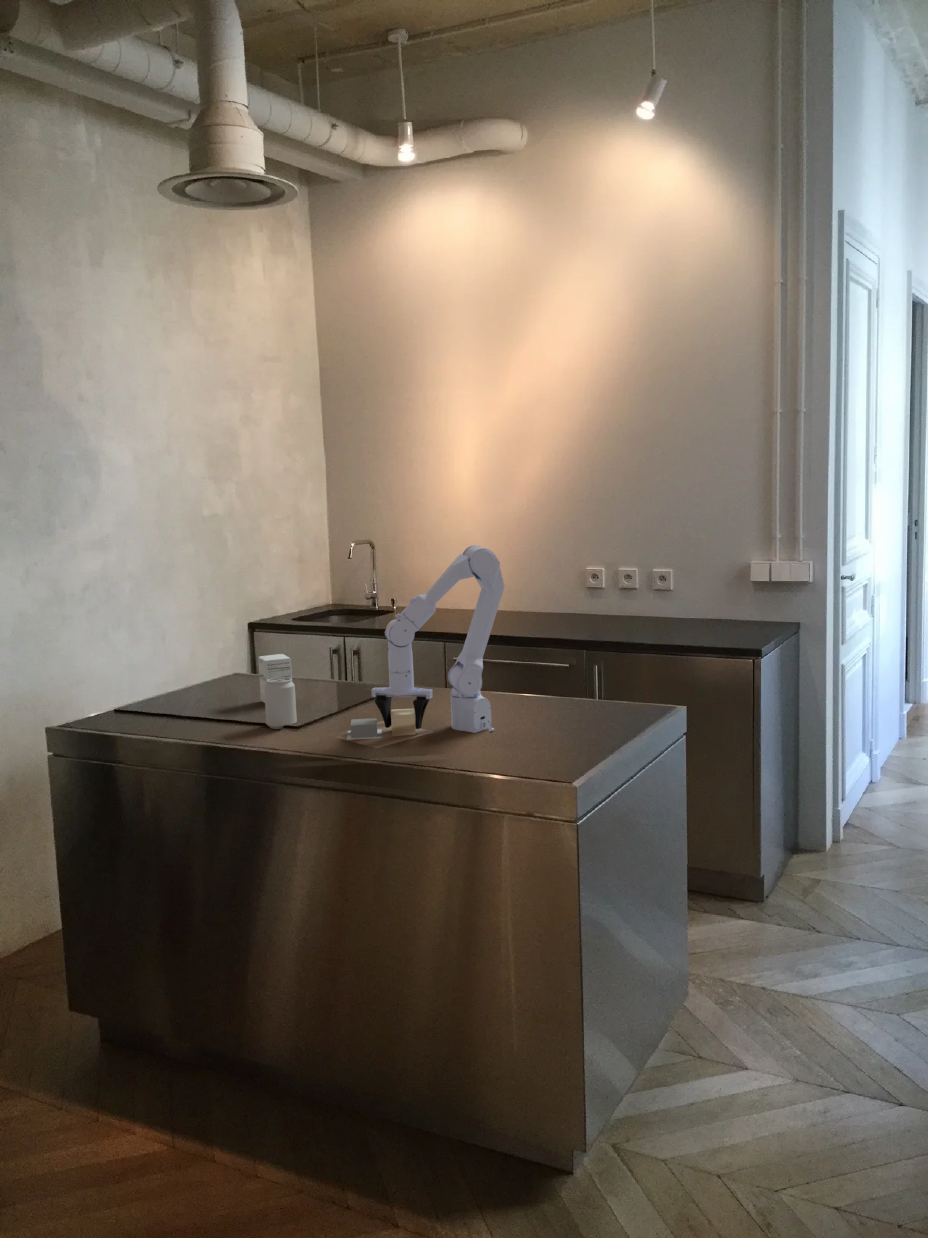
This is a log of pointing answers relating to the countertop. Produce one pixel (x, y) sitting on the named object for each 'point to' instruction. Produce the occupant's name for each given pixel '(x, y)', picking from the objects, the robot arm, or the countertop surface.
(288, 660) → the supplement box
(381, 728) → the board
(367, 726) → the grey base block
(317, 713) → the countertop surface
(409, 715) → the maple cube
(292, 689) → the can
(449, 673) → the robot arm
